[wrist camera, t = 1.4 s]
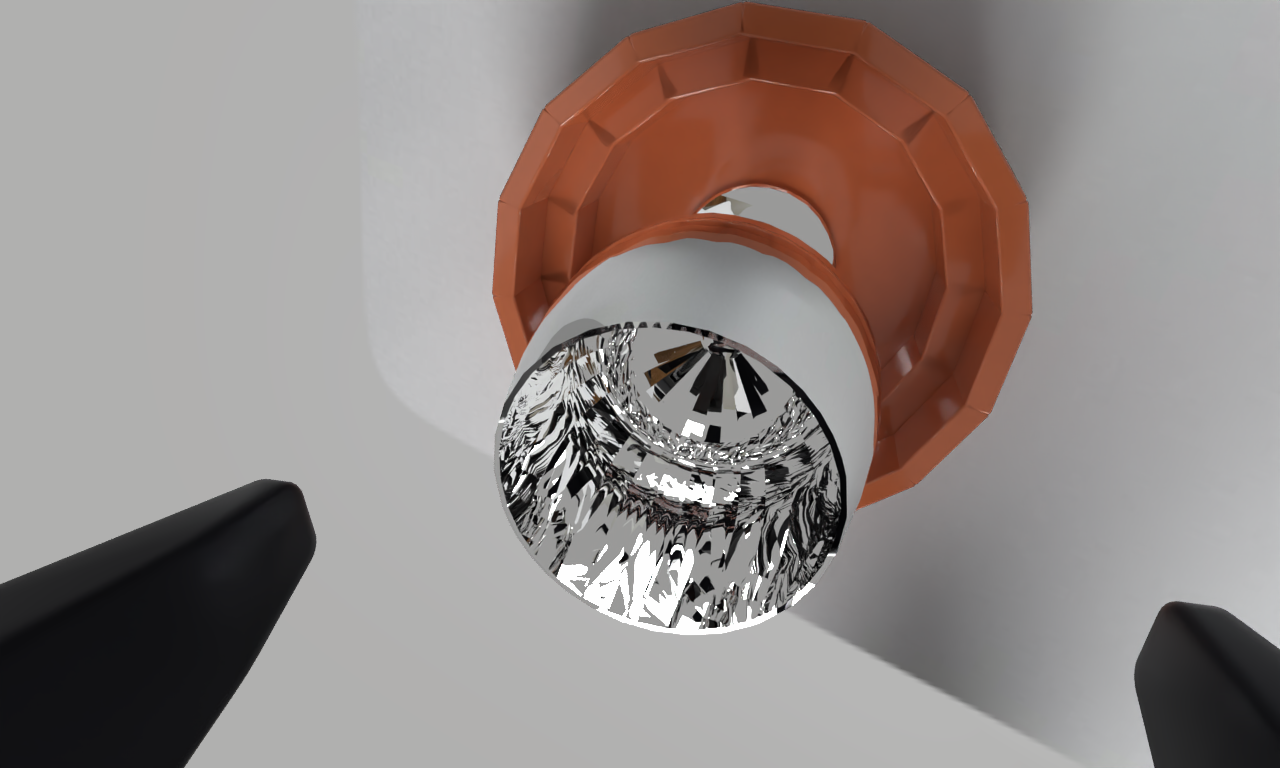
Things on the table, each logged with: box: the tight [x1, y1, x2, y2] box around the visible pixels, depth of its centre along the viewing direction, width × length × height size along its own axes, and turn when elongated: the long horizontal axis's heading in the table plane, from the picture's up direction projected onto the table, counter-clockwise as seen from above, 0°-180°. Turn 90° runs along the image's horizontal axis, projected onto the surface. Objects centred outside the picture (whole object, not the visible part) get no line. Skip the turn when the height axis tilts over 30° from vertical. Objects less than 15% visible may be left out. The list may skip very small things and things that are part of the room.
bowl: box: [492, 1, 1032, 510], centre depth 18 cm, size 12×12×4 cm
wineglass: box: [494, 183, 882, 635], centre depth 14 cm, size 6×6×12 cm
